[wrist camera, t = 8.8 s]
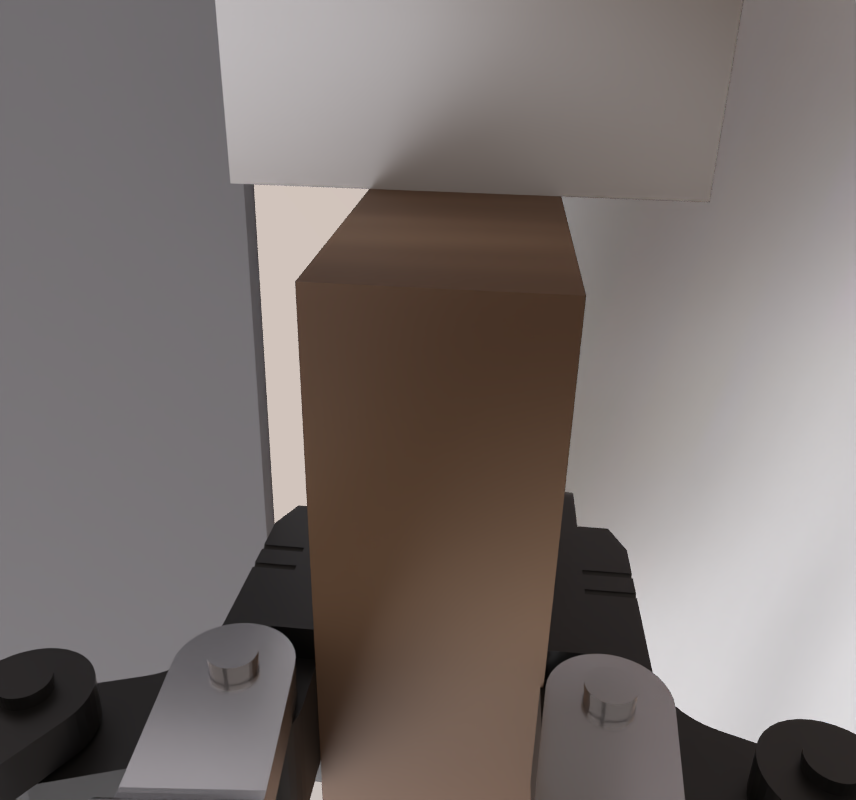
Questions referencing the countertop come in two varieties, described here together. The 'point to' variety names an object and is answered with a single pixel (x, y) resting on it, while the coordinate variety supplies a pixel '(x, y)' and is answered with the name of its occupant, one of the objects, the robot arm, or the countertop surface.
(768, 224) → the countertop surface
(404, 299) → the turner
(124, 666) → the mat
